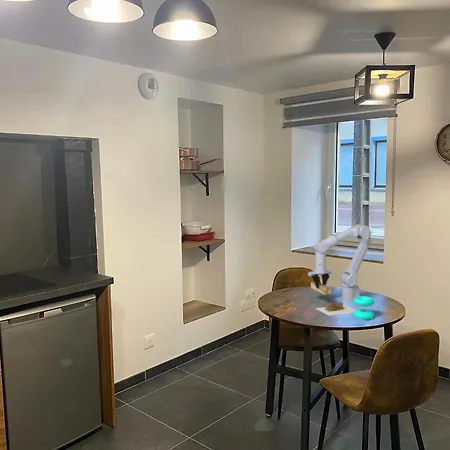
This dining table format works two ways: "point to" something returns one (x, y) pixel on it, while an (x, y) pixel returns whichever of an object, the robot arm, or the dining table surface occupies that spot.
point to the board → (346, 310)
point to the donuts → (363, 302)
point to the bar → (321, 288)
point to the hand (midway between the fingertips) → (320, 287)
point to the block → (334, 306)
